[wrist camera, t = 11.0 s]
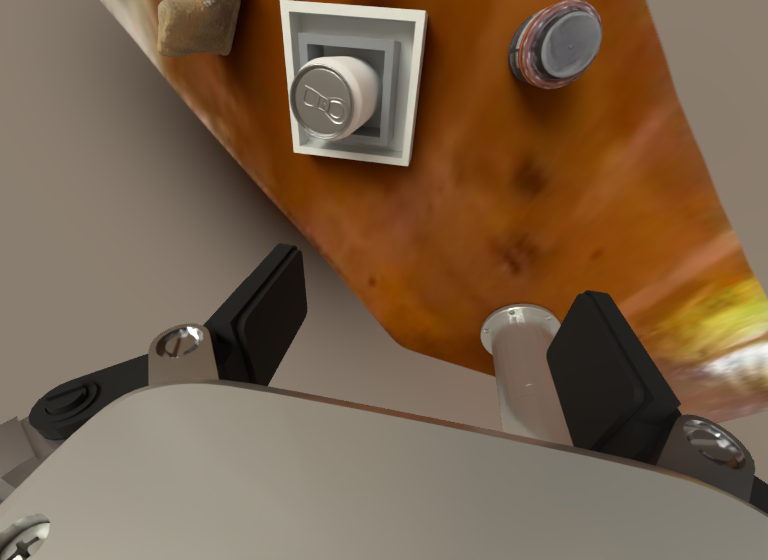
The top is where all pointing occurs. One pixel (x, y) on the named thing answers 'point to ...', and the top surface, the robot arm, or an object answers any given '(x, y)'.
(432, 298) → the top surface
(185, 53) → the stone
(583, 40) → the supplement bottle
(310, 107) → the can
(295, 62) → the inlet box
